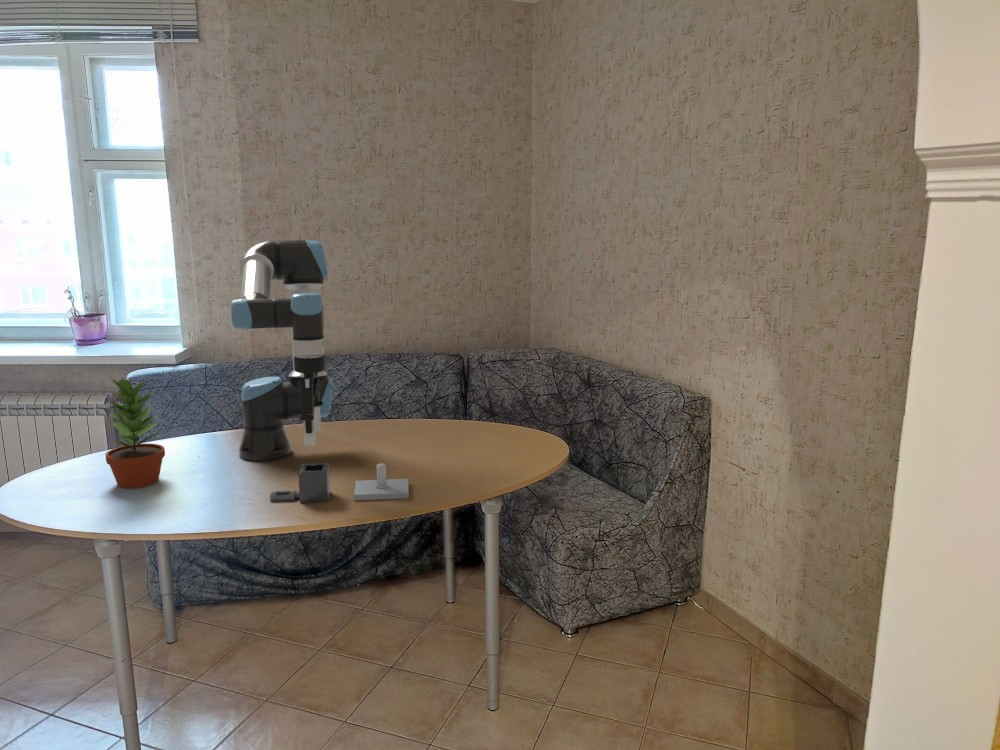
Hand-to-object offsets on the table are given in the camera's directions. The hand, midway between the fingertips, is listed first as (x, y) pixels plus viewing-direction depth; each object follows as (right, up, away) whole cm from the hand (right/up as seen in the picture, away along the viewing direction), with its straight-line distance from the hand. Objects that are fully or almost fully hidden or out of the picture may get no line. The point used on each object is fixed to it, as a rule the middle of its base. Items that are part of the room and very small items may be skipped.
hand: (312, 437), depth 193 cm
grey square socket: (-4, -16, +3) cm, 16 cm away
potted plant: (-51, -13, +14) cm, 55 cm away
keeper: (+16, -15, +7) cm, 23 cm away
